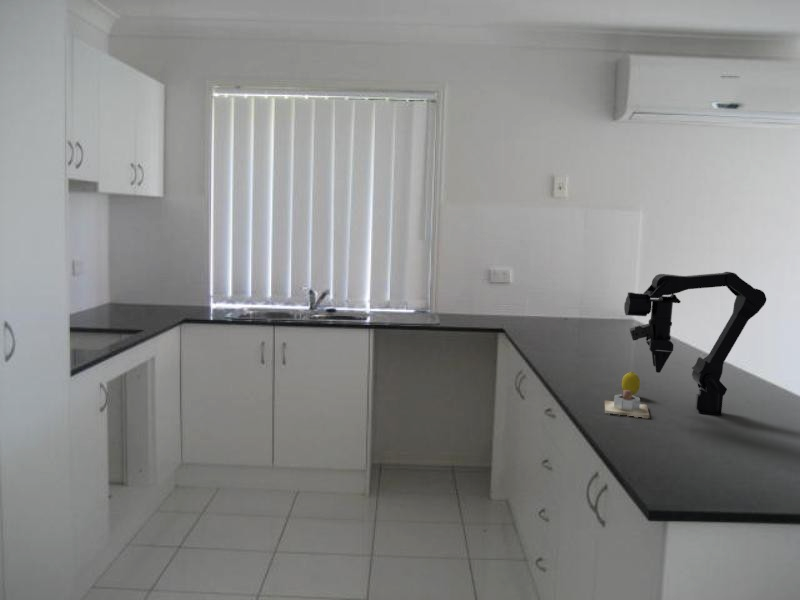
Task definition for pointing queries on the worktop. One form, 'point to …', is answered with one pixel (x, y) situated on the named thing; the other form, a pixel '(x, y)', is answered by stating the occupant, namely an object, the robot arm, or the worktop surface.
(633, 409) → the ring
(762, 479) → the worktop surface
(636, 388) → the lemon
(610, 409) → the post stand
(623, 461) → the worktop surface
